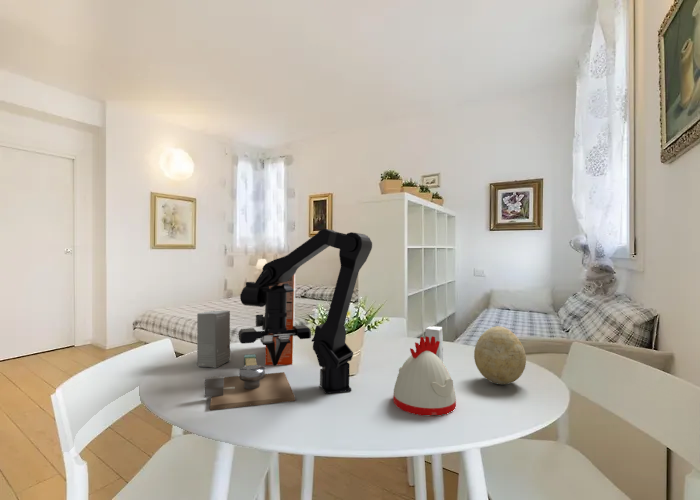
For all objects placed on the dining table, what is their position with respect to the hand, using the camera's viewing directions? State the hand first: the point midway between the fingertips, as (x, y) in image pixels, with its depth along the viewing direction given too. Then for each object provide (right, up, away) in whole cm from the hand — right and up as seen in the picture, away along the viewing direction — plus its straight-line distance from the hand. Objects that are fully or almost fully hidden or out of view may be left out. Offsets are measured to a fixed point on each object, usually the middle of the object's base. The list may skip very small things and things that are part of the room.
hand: (274, 365), depth 98 cm
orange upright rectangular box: (-3, -4, +22) cm, 23 cm away
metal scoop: (-5, 0, -6) cm, 8 cm away
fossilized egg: (+60, -4, -2) cm, 60 cm away
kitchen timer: (+37, -4, -16) cm, 41 cm away
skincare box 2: (+46, -4, +10) cm, 47 cm away
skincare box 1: (-21, -3, +11) cm, 24 cm away
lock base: (-4, -3, -10) cm, 11 cm away
